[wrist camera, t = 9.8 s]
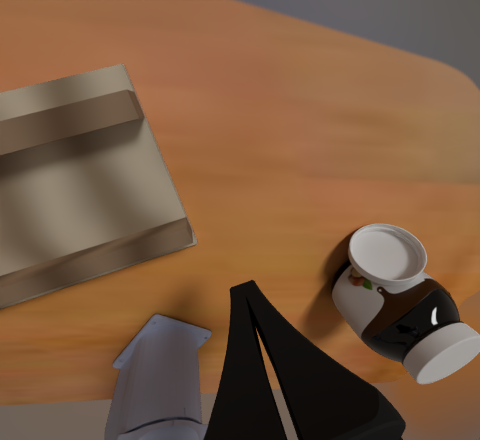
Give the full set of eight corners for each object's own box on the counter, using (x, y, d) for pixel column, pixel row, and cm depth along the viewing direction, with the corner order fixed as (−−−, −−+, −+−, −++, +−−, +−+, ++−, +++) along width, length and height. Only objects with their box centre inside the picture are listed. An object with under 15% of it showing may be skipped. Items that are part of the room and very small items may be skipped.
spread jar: (341, 306, 31) (416, 398, 21) (298, 275, 26) (370, 380, 16) (408, 251, 29) (527, 326, 19) (375, 205, 24) (517, 275, 13)
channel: (124, 65, 13) (98, 45, 9) (197, 240, 20) (200, 272, 16) (-288, 164, 11) (-551, 194, 7) (-48, 320, 18) (-113, 379, 14)
